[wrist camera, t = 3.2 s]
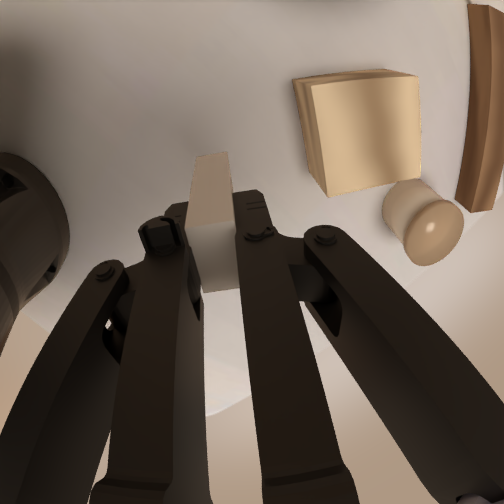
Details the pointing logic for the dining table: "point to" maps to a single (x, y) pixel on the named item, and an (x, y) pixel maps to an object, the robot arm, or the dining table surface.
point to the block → (360, 128)
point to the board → (484, 111)
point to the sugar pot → (422, 221)
